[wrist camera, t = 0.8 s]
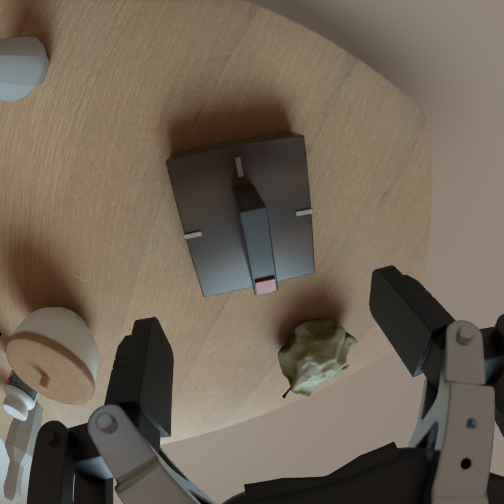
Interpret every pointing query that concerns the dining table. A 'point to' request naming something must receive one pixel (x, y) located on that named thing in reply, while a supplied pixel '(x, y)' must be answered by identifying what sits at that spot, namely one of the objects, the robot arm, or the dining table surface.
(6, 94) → the salt shaker
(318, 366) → the fruit
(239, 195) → the handle
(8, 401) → the pill bottle
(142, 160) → the dining table surface
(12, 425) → the faceted bottle
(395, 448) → the robot arm
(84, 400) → the trinket box
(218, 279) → the handle panel
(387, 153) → the dining table surface
